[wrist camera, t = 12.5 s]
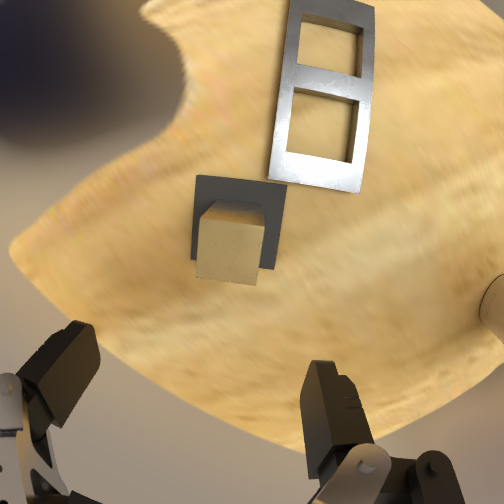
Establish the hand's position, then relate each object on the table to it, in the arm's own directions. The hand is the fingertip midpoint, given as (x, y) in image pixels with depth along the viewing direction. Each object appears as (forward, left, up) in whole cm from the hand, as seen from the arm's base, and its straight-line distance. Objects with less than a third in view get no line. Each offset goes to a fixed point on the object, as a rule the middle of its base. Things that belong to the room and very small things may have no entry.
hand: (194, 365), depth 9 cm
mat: (0, 0, -21) cm, 21 cm away
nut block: (0, 0, -21) cm, 21 cm away
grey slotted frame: (-7, -16, -21) cm, 27 cm away
